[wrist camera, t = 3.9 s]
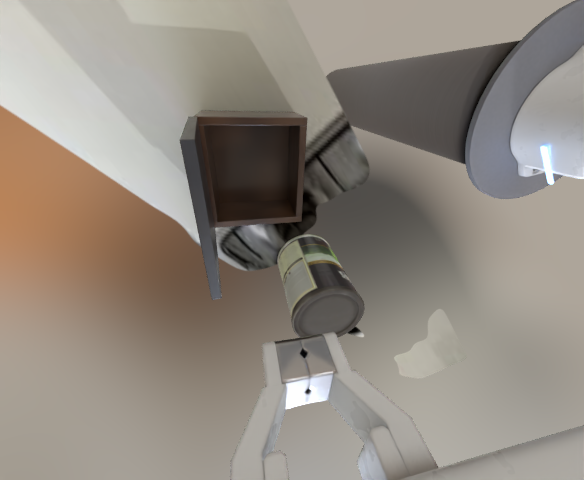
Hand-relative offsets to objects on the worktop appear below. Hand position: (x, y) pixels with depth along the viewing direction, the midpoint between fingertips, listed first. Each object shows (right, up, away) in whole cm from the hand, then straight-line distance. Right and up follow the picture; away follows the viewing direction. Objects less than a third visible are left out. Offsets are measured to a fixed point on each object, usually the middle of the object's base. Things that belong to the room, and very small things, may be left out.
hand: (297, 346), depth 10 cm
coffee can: (+2, +1, +35) cm, 35 cm away
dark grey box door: (-8, +8, +12) cm, 16 cm away
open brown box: (-6, +15, +24) cm, 29 cm away
